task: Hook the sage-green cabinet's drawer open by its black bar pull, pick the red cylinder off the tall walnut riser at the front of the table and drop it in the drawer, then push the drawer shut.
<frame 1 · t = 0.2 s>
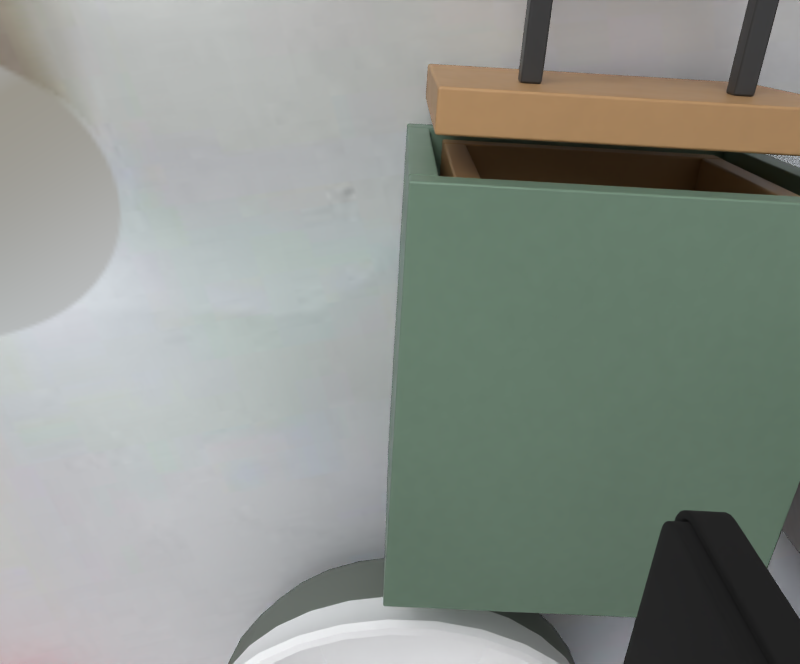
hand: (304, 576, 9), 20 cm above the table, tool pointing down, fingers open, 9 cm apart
drawer: (597, 209, 22), point 5 cm above the table, slide at 1.0 cm
cabinet: (544, 309, 29), on the table
bowl: (402, 623, 37), on the table
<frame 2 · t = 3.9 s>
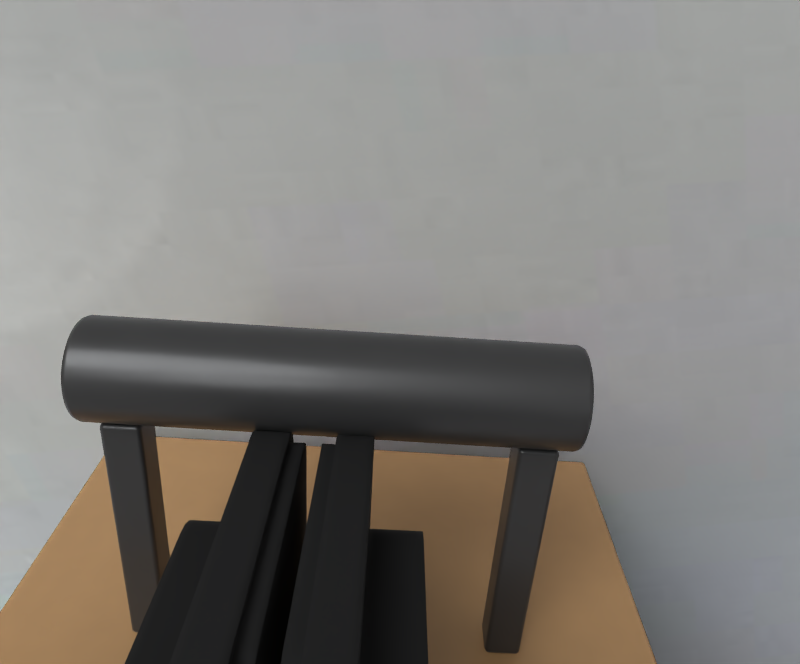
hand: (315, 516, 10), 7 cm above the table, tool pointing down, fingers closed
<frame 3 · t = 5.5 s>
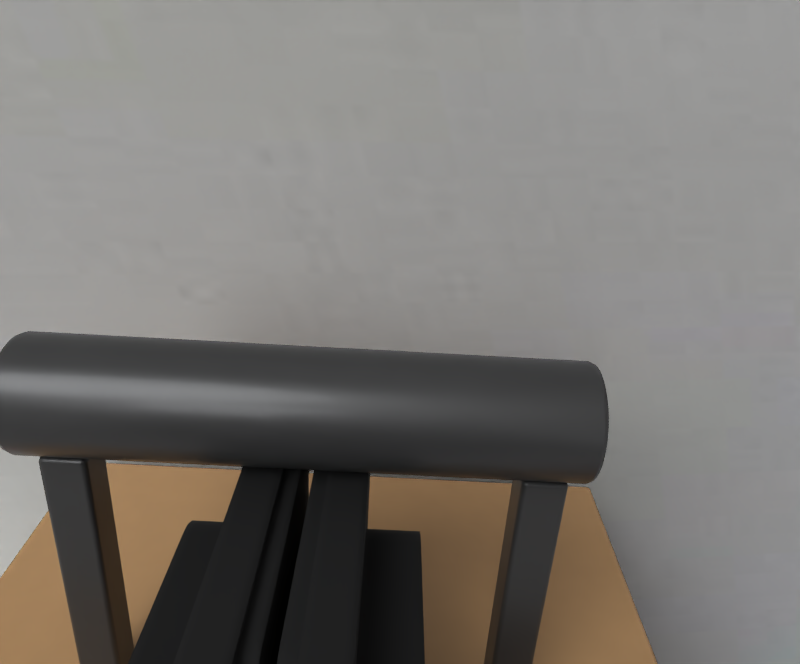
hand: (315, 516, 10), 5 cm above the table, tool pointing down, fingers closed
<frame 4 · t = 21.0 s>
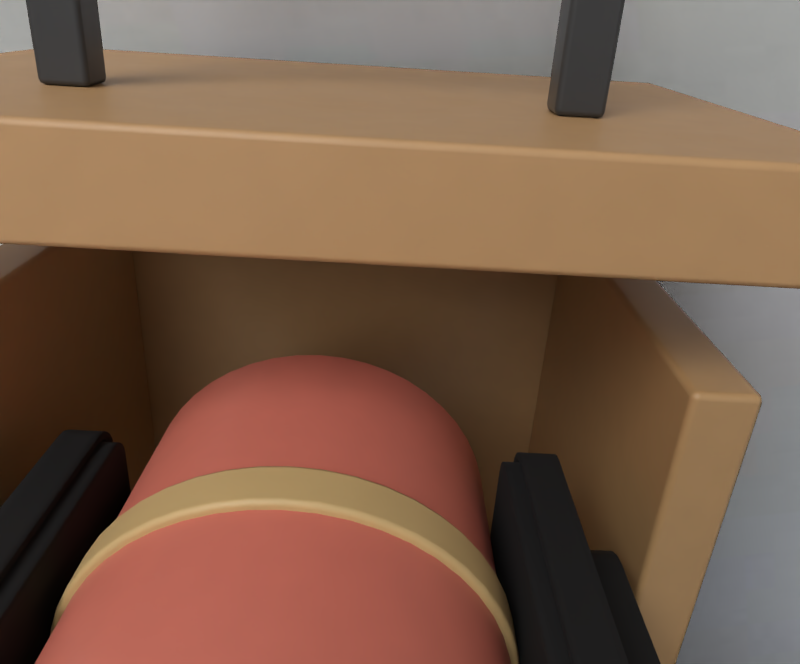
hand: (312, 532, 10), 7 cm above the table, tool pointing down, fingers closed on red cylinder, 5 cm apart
drawer: (332, 336, 11), point 5 cm above the table, slide at 10.0 cm, touching gripper
red cylinder: (319, 496, 11), point 6 cm above the table, touching gripper
when the fingers open (9 cm above the table, at t = 30.2 s): red cylinder drops 6 cm, resting on drawer.
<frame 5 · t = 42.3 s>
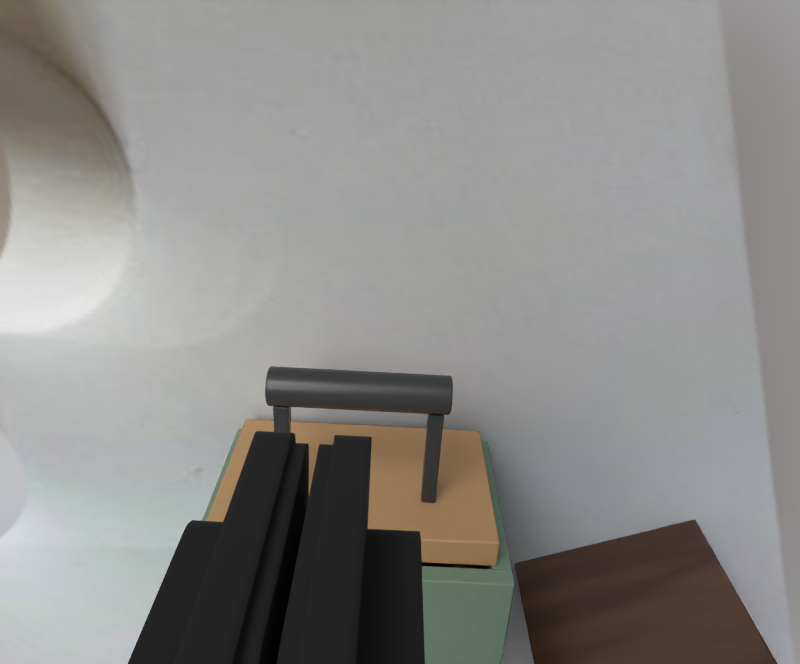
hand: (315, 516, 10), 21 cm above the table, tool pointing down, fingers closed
drawer: (355, 542, 31), point 5 cm above the table, slide at 0.0 cm, touching cabinet, red cylinder
riser: (620, 605, 39), on the table
cabinet: (358, 546, 38), on the table
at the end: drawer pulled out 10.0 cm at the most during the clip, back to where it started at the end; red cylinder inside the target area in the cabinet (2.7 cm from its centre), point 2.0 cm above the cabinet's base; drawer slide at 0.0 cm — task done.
